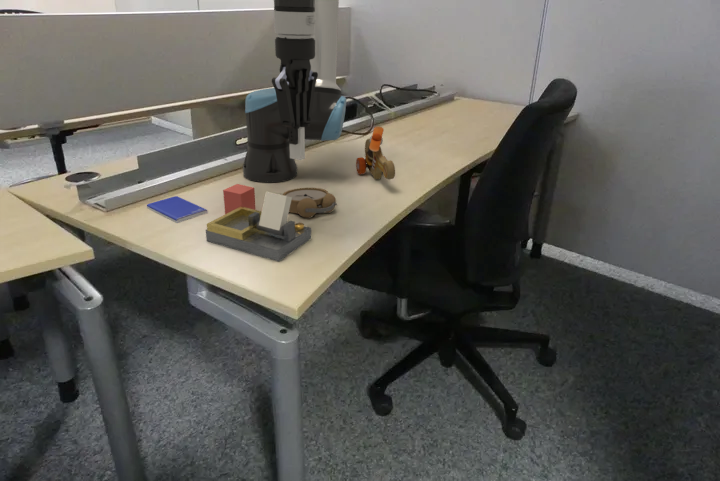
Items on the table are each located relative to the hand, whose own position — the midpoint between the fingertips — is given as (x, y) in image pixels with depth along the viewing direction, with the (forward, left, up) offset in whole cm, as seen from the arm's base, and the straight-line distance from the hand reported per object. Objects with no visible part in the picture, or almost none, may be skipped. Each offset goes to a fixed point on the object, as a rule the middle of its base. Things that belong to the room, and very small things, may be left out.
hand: (297, 158), depth 107 cm
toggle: (+10, 0, -12) cm, 16 cm away
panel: (+9, -4, -16) cm, 19 cm away
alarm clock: (-11, -4, -17) cm, 20 cm away
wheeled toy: (-39, +1, -16) cm, 42 cm away
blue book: (+6, -30, -17) cm, 35 cm away
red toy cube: (-1, -17, -16) cm, 23 cm away
